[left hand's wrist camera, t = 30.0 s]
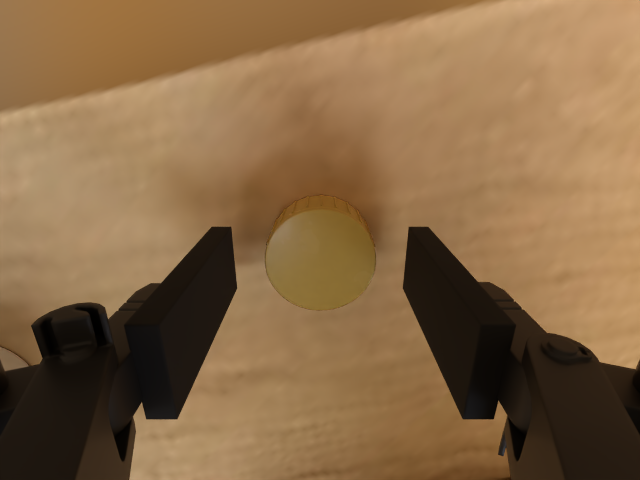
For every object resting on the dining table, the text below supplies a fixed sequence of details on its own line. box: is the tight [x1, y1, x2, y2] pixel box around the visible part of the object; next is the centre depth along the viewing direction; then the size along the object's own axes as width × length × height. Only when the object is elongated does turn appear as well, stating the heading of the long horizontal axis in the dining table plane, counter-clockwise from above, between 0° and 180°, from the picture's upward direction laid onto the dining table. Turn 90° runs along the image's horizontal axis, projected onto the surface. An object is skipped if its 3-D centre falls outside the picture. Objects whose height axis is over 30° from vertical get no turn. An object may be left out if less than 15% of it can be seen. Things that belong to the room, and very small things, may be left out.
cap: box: [265, 194, 376, 310], centre depth 14 cm, size 4×4×2 cm
